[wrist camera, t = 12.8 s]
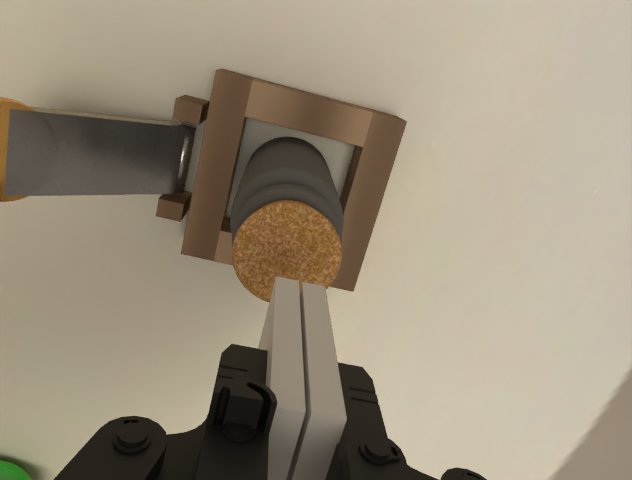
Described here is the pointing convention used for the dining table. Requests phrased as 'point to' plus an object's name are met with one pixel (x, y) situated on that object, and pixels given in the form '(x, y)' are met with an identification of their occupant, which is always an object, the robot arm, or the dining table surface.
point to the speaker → (12, 472)
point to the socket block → (296, 113)
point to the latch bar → (89, 153)
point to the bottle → (286, 218)
